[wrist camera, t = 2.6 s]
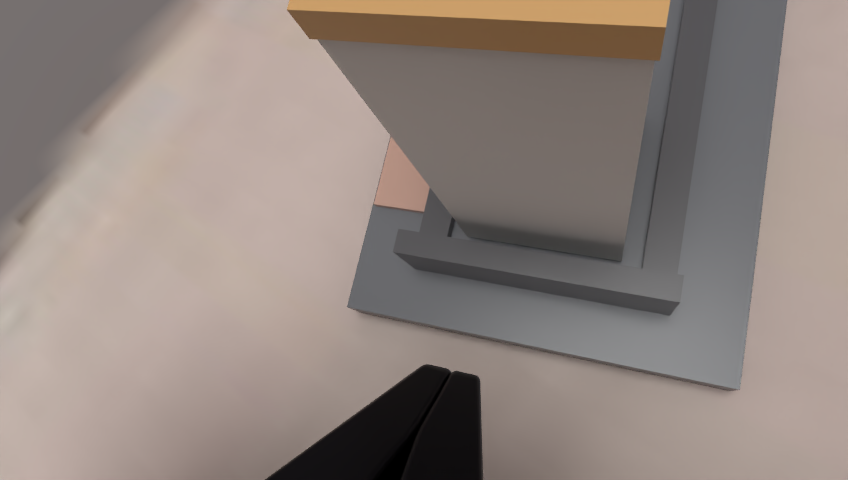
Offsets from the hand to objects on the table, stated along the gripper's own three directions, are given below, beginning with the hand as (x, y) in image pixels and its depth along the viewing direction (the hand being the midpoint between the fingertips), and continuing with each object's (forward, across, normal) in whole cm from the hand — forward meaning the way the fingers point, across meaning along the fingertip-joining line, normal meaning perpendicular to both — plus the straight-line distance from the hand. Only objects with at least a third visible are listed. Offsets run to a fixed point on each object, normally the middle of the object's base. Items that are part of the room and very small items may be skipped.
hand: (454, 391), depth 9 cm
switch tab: (+9, 0, +1) cm, 9 cm away
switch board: (+12, 0, 0) cm, 12 cm away
